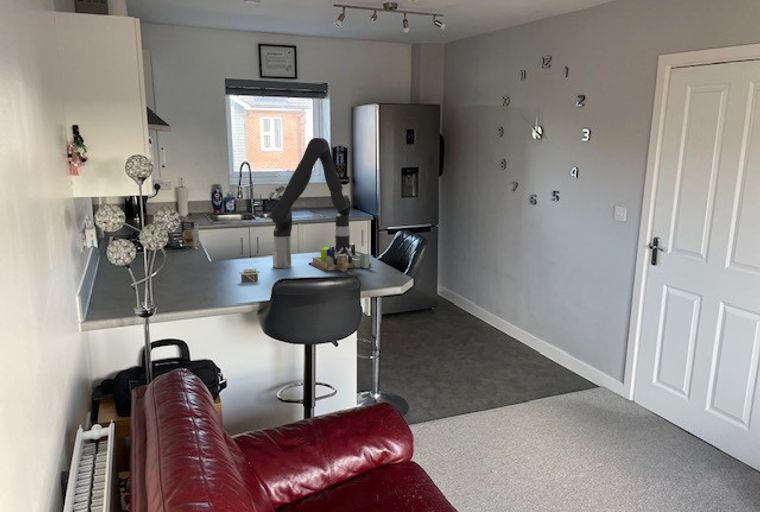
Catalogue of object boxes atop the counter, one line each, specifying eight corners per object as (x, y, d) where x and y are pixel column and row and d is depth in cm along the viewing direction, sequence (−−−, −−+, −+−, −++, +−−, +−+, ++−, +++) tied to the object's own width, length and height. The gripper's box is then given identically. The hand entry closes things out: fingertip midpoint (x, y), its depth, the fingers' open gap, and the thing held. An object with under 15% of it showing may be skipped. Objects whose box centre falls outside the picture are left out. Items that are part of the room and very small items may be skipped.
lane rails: (323, 271, 298) (323, 269, 298) (308, 264, 314) (308, 262, 314) (371, 265, 313) (371, 263, 313) (354, 259, 329) (354, 257, 329)
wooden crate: (270, 283, 274) (269, 270, 273) (232, 286, 268) (231, 273, 267) (266, 278, 285) (266, 265, 284) (230, 280, 279) (229, 267, 278)
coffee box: (181, 246, 362) (180, 221, 358) (186, 244, 368) (185, 219, 365) (195, 246, 360) (193, 221, 357) (199, 244, 367) (198, 220, 363)
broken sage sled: (359, 268, 304) (359, 254, 302) (340, 261, 322) (340, 247, 321) (373, 267, 309) (374, 252, 307) (354, 259, 327) (354, 246, 325)
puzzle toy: (338, 268, 305) (338, 250, 302) (321, 267, 306) (320, 249, 304) (343, 264, 314) (343, 247, 312) (326, 263, 316) (326, 246, 314)
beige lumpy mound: (331, 273, 294) (331, 258, 292) (312, 264, 313) (312, 250, 312) (358, 269, 302) (358, 255, 301) (338, 261, 321) (338, 247, 320)
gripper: (333, 236, 290) (334, 267, 293) (357, 234, 297) (357, 264, 301) (327, 234, 296) (327, 264, 300) (350, 232, 304) (351, 261, 307)
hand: (342, 264), depth 300 cm, fingers open, 8 cm apart
